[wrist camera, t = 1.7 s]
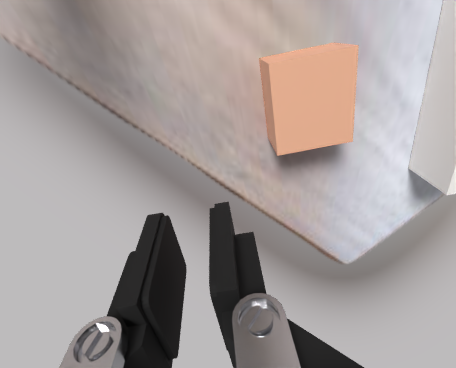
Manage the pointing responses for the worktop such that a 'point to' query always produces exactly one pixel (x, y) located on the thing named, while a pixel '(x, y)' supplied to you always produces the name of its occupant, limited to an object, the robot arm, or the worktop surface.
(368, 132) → the worktop surface
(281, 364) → the robot arm
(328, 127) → the peach block
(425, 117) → the board
